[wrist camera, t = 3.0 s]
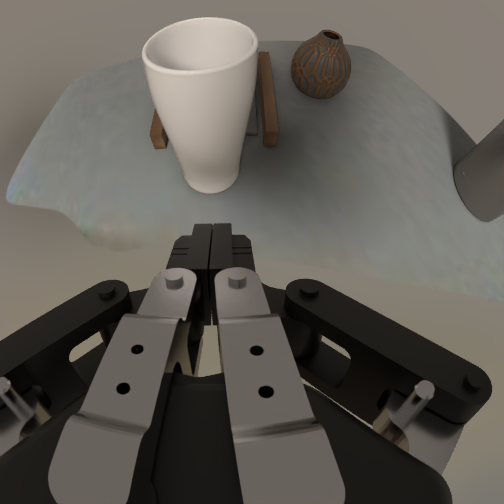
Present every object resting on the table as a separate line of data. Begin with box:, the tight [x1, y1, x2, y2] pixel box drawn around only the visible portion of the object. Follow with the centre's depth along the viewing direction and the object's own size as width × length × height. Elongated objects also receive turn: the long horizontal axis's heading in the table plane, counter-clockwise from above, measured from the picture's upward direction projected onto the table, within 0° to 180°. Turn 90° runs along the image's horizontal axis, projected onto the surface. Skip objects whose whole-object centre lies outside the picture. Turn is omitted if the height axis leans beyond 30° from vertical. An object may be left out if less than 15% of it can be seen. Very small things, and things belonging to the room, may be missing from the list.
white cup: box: [142, 17, 258, 194], centre depth 20 cm, size 7×7×15 cm
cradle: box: [150, 52, 279, 149], centre depth 29 cm, size 12×14×2 cm
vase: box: [291, 30, 351, 99], centre depth 27 cm, size 7×7×9 cm
